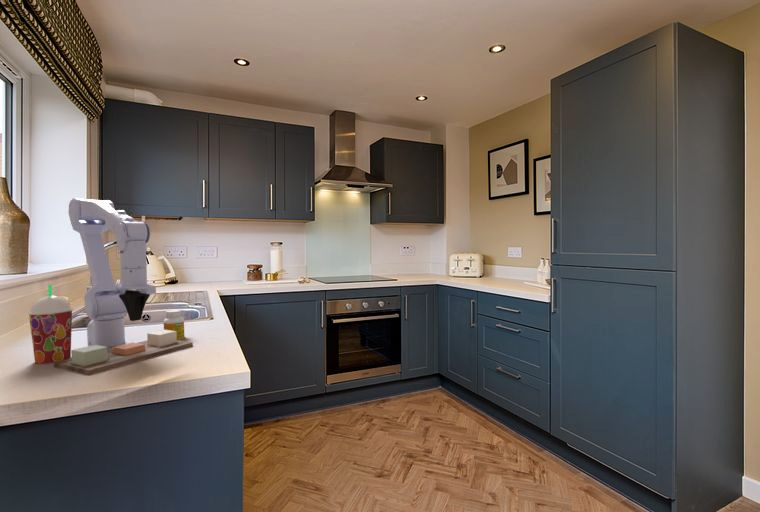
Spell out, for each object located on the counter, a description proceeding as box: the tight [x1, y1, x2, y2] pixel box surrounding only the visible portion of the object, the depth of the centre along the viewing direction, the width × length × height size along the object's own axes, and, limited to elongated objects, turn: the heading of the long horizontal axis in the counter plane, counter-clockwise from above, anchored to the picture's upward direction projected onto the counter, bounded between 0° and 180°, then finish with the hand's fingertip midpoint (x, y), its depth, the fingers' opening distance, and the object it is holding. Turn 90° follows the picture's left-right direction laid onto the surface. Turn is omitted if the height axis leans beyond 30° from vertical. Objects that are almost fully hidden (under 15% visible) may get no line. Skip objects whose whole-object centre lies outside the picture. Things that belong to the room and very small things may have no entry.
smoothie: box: [27, 284, 74, 365], centre depth 98 cm, size 8×8×20 cm
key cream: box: [146, 329, 177, 347], centre depth 109 cm, size 5×5×4 cm
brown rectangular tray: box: [53, 339, 194, 376], centre depth 101 cm, size 14×26×2 cm, turn 154°
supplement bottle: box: [163, 309, 185, 341], centre depth 119 cm, size 5×5×10 cm
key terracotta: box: [112, 342, 145, 356], centre depth 101 cm, size 5×5×4 cm
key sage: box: [71, 345, 109, 366], centre depth 93 cm, size 5×5×4 cm
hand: (135, 320), depth 104 cm, fingers closed
